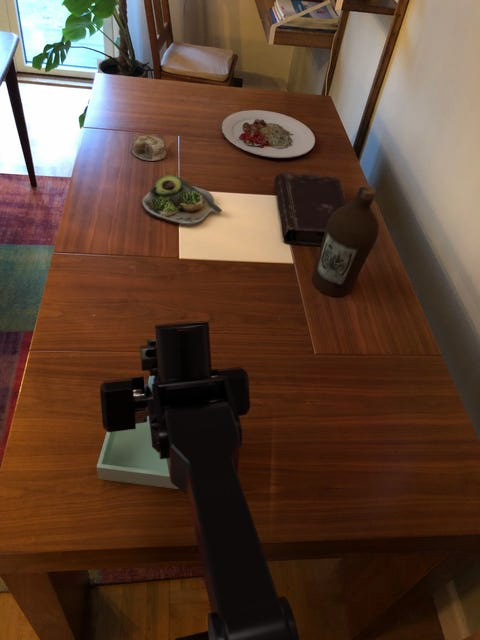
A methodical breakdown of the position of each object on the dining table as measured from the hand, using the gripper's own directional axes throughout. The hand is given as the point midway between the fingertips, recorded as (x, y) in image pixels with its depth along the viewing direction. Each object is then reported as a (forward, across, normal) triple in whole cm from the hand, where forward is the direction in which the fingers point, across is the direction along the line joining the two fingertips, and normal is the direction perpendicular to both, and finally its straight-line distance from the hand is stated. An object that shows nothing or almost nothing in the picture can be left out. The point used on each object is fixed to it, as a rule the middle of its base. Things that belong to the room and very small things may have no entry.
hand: (170, 386), depth 69 cm
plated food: (+79, -44, -62) cm, 110 cm away
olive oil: (+32, -41, -14) cm, 54 cm away
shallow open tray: (+8, +4, +11) cm, 14 cm away
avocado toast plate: (+54, -10, -36) cm, 66 cm away
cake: (+72, -5, -54) cm, 90 cm away
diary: (+50, -45, -32) cm, 74 cm away
